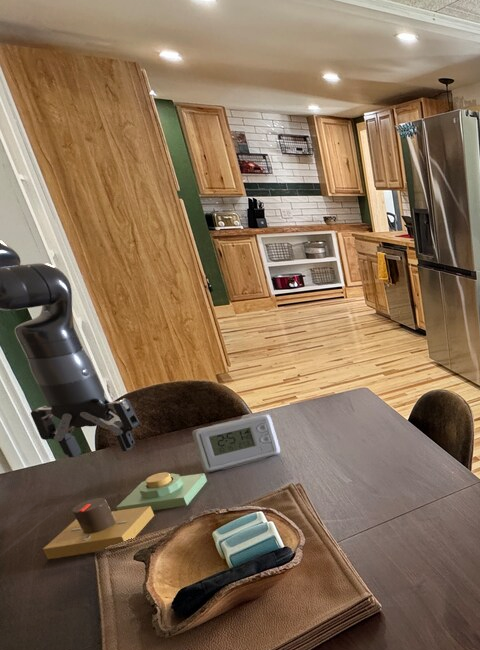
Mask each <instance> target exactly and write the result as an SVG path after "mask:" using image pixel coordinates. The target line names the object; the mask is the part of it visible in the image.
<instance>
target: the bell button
mask: <svg viewBox="0 0 480 650" xmlns="http://www.w3.org/2000/svg"><path fill="white" fill-rule="evenodd" d="M170 474H171V473H169V472H167V471H164V472H158V473H155V474H152V475H150V476H148V477H147V478H146V479H145V481H146V483H147V485H148V488H150V489H152V488H158V487H161V486H165V485H167V484H169V483H170V482H172V479H171V476H170Z"/></svg>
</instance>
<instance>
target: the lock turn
mask: <svg viewBox="0 0 480 650" xmlns="http://www.w3.org/2000/svg"><path fill="white" fill-rule="evenodd" d="M72 513H73V515H74V517H75V520H76V519H77V521H78V523H79V525H80V527H81V528H82V530H83V532H84V533H95V532H99V531H102V530H104V529H106V528H108V527H110V526H112V525H113V524H114V523H115V521H116V520H115V518H114V516H113V514H112V510H111V508H110V506H109V503H108V501H107V499H106V498H104V497H98V498H97V497H96V498H92V499H89V500H86V501H83V502H80V503H78V504H77V505H75V506H74V507H72Z"/></svg>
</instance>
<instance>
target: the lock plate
mask: <svg viewBox="0 0 480 650" xmlns="http://www.w3.org/2000/svg"><path fill="white" fill-rule="evenodd" d="M111 512H112V514H113V516H114V518H115V520H116V521H115V523H114V524H113V525H112V526H110V527H108V528H106V529H104V530H102V531H99V532H95V533H84V532H83V530H82V528H81V527H80V525H79V523H78V521H77V519H76V518H75V519H74V521H72V522H71V523H70V524H69V525H68V526H66V527H65V528H64V529H62V531H61V532H60V533H59V534H58V535H57V536H56V537H54V538H53V539H52V540H51V541H50V542H49V543H47V545H45V546H44V547H43V548H42V551H43V552H44V554H45V556H46V558H47V560H53V559H59V558H64V557H65V558H66V557H71V556H78V555H84V554H91V553H95V552H96V553H97V552H101V551H100V550H102V549H103V548H104V549H105V548H106V547H108V546H110V545H114V544H118V543H121V542H124V541H126V540H128V539H131V538H132V539H133V538H134V539H135V538H136V537H137V536H138V535H139V534H140V533H141V531H142V530H143V529H144V527H146V526H147V524H148V523H149V522H150V521H151V520H152V519H153V517H155V514H154V510H153V511H152V509H151V507H150V506H147V507H140V508H133V509H126V510H119V511H118V510H114V511H112V510H111ZM134 539H133V540H134ZM102 551H103V550H102Z"/></svg>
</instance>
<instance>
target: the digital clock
mask: <svg viewBox="0 0 480 650" xmlns="http://www.w3.org/2000/svg"><path fill="white" fill-rule="evenodd" d="M191 433H192V438H193V442H194V444H195V448H196V451H197V454H198V458H199V460H200V464H201V468H202V470H203V471H204V472H205V473H214V472H216V471H220V470H227V469H231V468H236V467H238V466H239V467H240V466H243V465H246V464H250V463H254V462H258V461H261V460H262V461H263V460H265V459H266V458H269V457H272V456H273V457H274V456H277V455H279V454H280V453H281V446H280V443H279V440H278V438H277V433H276V431H275V426H274V423H273V420H272V417H271V415H270V414H269V413H264V414H259V415H254V416H247V417H242V418H239V419H238V418H237V419H233V420H229V421H225V422H219V423H215V424H212V425H210V426H205V427H200V428H197V429H194V430H193V431H192V432H191Z"/></svg>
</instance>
